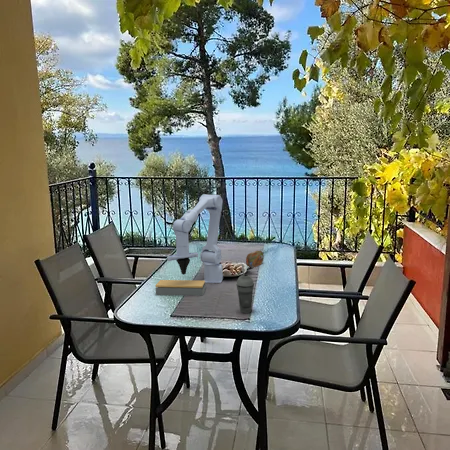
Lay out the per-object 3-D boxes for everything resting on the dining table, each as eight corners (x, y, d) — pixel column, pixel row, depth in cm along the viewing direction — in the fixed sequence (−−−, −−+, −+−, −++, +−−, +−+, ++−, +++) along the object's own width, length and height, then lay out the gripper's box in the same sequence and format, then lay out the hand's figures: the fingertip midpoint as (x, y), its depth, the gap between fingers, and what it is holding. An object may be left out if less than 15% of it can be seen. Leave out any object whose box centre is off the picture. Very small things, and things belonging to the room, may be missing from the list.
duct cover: (205, 282, 205) (205, 280, 205) (202, 287, 196) (202, 286, 196) (160, 281, 207) (160, 279, 207) (155, 287, 198) (155, 285, 198)
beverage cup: (249, 315, 172) (248, 267, 168) (233, 312, 176) (232, 265, 172) (257, 309, 178) (257, 263, 175) (242, 306, 182) (241, 261, 178)
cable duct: (205, 289, 205) (205, 282, 205) (202, 295, 196) (202, 288, 196) (160, 288, 208) (160, 281, 207) (155, 294, 199) (155, 287, 198)
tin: (249, 269, 237) (249, 254, 235) (245, 268, 238) (244, 254, 237) (264, 263, 248) (264, 249, 247) (259, 262, 250) (259, 248, 249)
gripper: (193, 242, 203) (194, 269, 205) (164, 245, 197) (165, 274, 199) (199, 244, 197) (200, 273, 199) (169, 248, 190) (171, 277, 193)
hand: (183, 273), depth 199 cm, fingers closed
